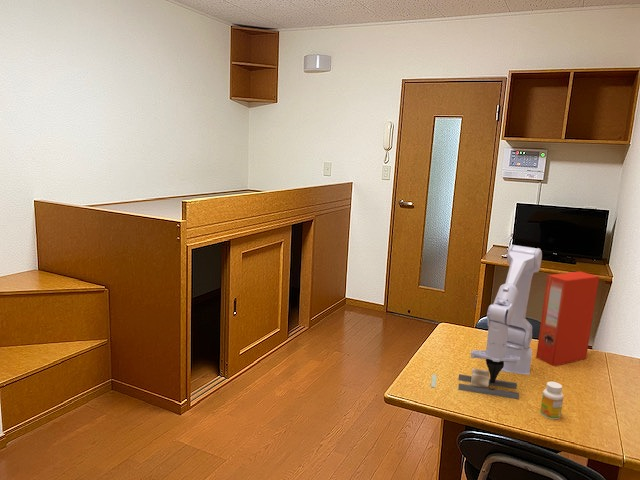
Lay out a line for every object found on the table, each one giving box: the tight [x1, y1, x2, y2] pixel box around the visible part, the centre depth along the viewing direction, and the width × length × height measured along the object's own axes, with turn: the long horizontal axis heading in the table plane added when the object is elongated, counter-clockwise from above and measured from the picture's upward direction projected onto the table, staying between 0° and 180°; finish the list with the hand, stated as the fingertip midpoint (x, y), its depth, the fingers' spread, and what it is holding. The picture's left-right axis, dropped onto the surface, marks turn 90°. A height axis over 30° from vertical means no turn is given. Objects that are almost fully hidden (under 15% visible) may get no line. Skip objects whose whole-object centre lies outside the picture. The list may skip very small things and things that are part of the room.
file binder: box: [535, 270, 600, 367], centre depth 179 cm, size 8×17×32 cm, turn 115°
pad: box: [430, 373, 437, 389], centre depth 160 cm, size 8×9×1 cm
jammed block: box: [470, 367, 490, 388], centre depth 156 cm, size 5×5×5 cm
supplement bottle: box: [540, 381, 564, 420], centre depth 142 cm, size 5×5×10 cm
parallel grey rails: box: [457, 373, 520, 400], centre depth 156 cm, size 18×8×2 cm, turn 74°
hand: (492, 381), depth 155 cm, fingers closed
